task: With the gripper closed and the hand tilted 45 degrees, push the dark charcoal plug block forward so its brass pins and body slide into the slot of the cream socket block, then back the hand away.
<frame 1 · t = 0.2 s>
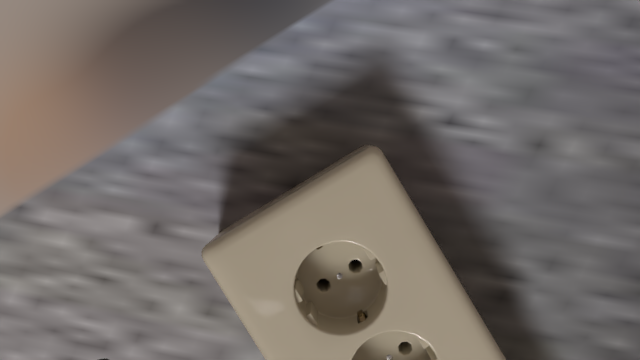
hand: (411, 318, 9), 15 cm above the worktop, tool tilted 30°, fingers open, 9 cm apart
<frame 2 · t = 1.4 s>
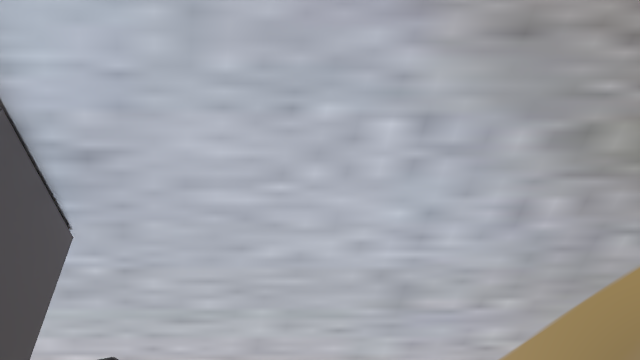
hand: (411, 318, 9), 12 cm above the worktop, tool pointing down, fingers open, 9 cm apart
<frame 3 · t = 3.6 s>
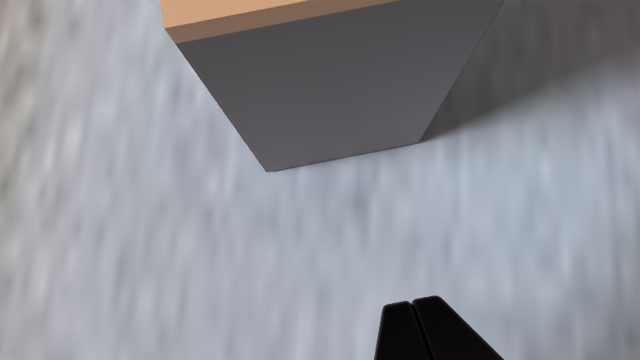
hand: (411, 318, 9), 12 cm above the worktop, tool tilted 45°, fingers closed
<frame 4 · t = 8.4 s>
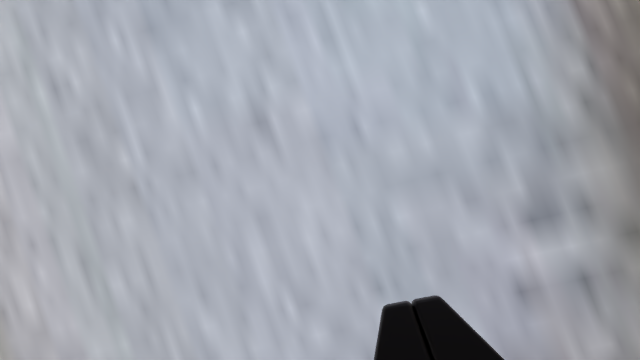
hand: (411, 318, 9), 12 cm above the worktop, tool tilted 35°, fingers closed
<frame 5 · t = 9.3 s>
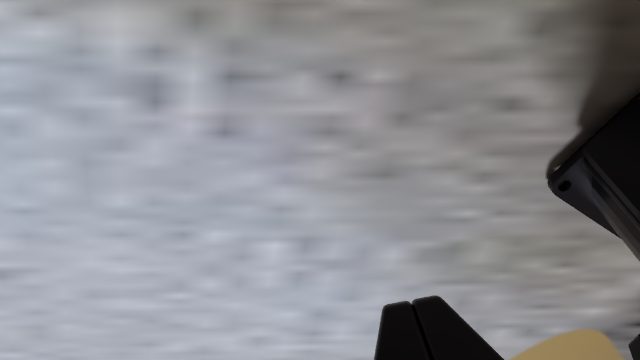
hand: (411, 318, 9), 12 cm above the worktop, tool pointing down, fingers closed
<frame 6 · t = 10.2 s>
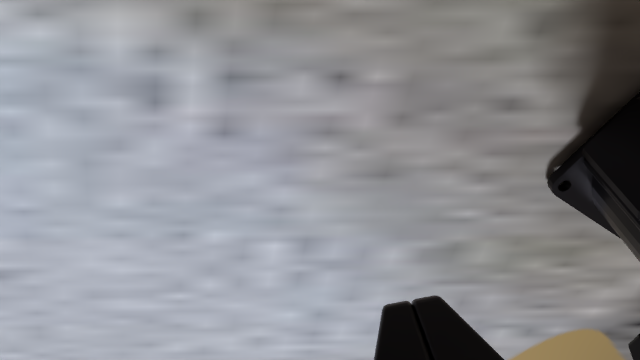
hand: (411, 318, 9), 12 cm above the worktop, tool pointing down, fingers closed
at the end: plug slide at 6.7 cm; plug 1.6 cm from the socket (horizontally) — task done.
